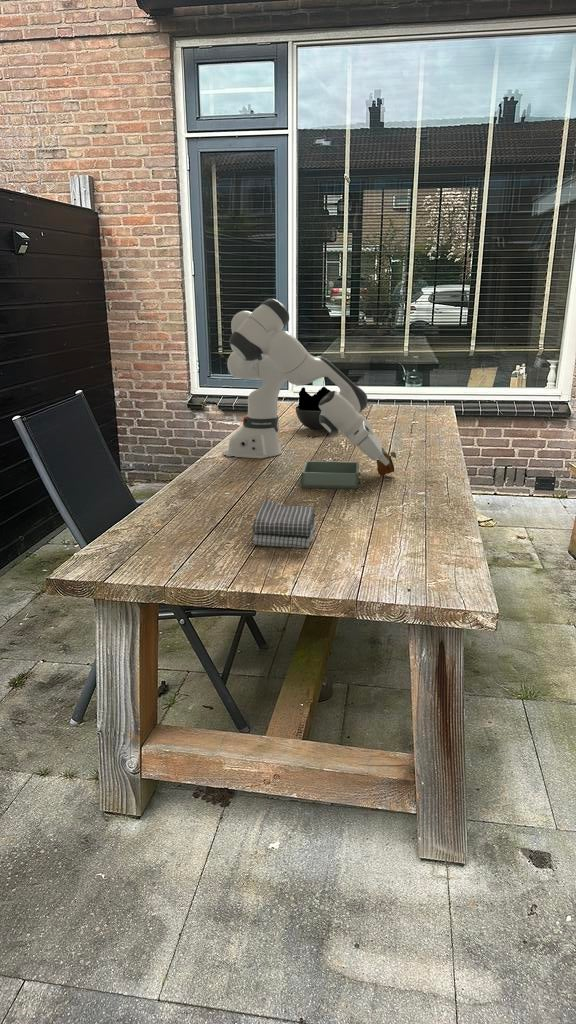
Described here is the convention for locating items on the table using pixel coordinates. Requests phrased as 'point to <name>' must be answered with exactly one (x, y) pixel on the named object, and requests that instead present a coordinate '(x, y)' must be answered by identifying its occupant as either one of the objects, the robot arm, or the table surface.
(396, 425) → the table surface
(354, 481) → the bin
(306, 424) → the bowl of black rocks
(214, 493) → the table surface
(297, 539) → the towel
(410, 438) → the table surface
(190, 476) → the table surface
